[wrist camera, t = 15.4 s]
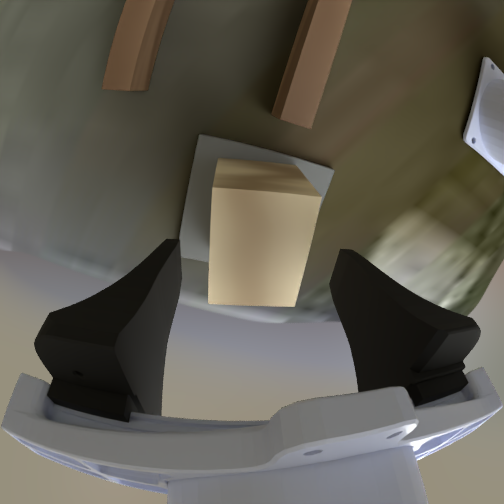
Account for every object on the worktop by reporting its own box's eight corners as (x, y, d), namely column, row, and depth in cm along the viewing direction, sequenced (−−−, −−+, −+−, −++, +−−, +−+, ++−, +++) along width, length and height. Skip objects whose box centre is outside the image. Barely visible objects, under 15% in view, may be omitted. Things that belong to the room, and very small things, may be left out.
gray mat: (332, 168, 16) (334, 170, 15) (290, 273, 20) (291, 277, 20) (200, 133, 14) (199, 134, 14) (177, 252, 18) (176, 255, 18)
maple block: (296, 165, 15) (321, 197, 11) (280, 253, 18) (294, 306, 14) (218, 158, 15) (212, 187, 11) (212, 250, 18) (208, 303, 14)
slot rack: (344, -28, 9) (365, -45, 6) (296, 122, 14) (310, 129, 12) (178, -64, 7) (170, -86, 4) (123, 88, 12) (101, 89, 10)
